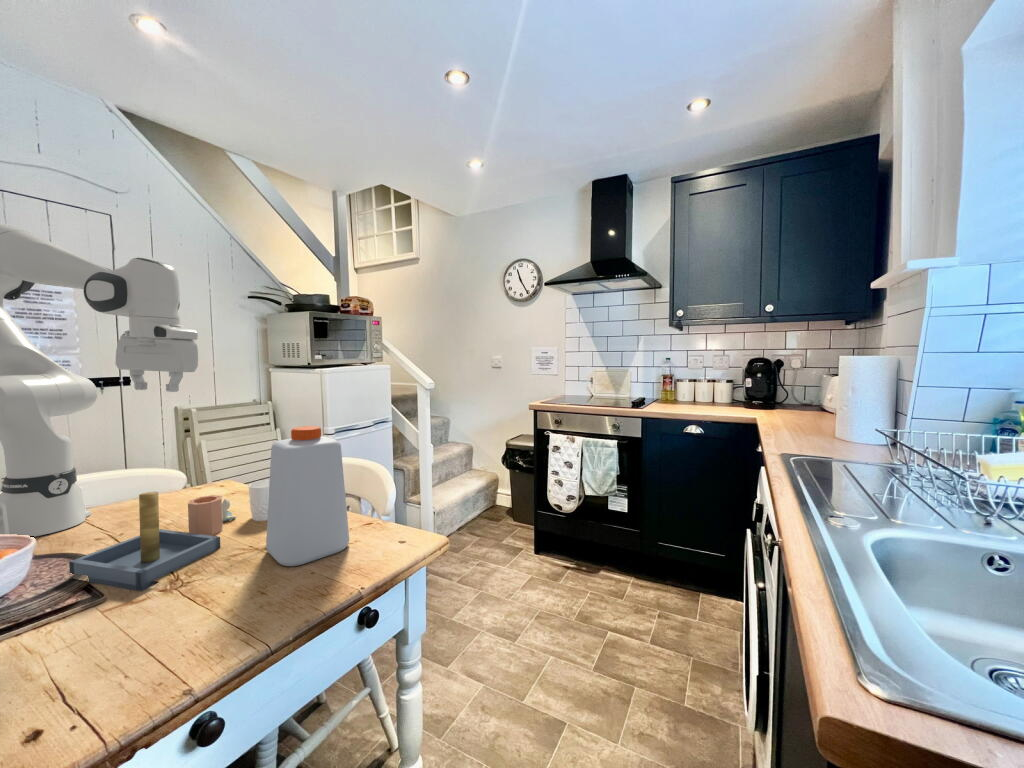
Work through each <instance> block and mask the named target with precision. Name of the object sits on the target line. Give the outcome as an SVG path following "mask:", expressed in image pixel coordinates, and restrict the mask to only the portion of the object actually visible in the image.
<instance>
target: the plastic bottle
mask: <svg viewBox="0 0 1024 768" xmlns="http://www.w3.org/2000/svg"><path fill="white" fill-rule="evenodd" d="M270 449H271V451H270V463H269V464H270V465H269V466H270V468H269V469H270V470H269V479H270V483H269V501H268V519H267V520H266V521H267V524H266V536H265V537H266V540H265V542H266V543H265V549H266V551H267V553H268V554H269V555H270V556H271V557H272V558H273V559H274V560H275V561H276V562H277V563H278V564H279V565H282V566H285V567H296V566H301V565H304V564H308V563H311V562H314V561H317V560H320V559H322V558H325V557H329V556H331V555H334V554H337V553H339V552H342V551H343V550H345V549H346V548H347V547H348V545H349V543H350V532H349V531H350V530H349V521H348V509H347V499H346V486H345V478H344V476H345V475H344V467H343V464H344V463H343V455H342V453H343V452H342V445H341V443H340V441H339V440H336V439H335V438H331V437H330V436H329V437H327V436H324V435H322V428H321V427H320V426H318V425H316V426H315V425H309V426H308V425H306V426H298V427H293V428H292V429H291V430H290V438H287V439H281V440H280V439H279V440H277V441H275V442H274V443H273V444H272V445H271V448H270Z"/></svg>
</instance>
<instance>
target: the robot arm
mask: <svg viewBox="0 0 1024 768" xmlns="http://www.w3.org/2000/svg"><path fill="white" fill-rule="evenodd" d="M178 276H179V275H178V273H177V271H176V269H175V268H174V267H173V266H172V265H169V263H164V262H161V261H160V262H159V261H157V260H153V259H148V258H144V257H133V258H131V259H130V260H129V261H128V262H127V264H125V265H123V266H121V267H118V268H114V269H109V268H107V267H105V266H102V265H99V264H97V263H95V262H93V261H91V260H89V259H87V258H85V257H83V256H81V255H78V254H76V253H74V252H72V251H70V250H68V249H66V248H63V247H62V246H60V245H57V244H56V243H54V242H52V241H50V240H48V239H45V238H43V237H41V236H39V235H36V234H34V233H31V232H29V231H26V230H24V229H20V228H17V227H15V226H10V225H6V224H2V223H0V443H1V446H2V449H3V455H4V464H5V465H4V466H5V473H6V474H5V475H6V476H4V477H3V478H1V480H3V481H0V483H1V488H0V489H1V490H0V491H1V493H0V534H17V535H29V536H34V537H39V536H44V535H47V534H52V533H56V532H61V531H64V530H68V529H69V528H73V527H74V526H77V525H80V524H83V522H85V520H86V518H87V517H89V516H91V515H92V511H91V509H87V508H86V502H85V497H84V491H83V487H82V486H80V485H78V484H76V483H77V480H78V479H77V478H78V477H77V476H78V473H77V469H76V467H74V454H73V453H74V452H73V442H72V440H71V438H70V437H69V436H67V435H65V434H63V433H60V432H58V431H57V430H56V429H55V428H54V426H53V425H52V422H51V419H50V418H51V417H59V416H65V415H66V416H68V415H72V414H76V413H78V412H81V411H84V410H87V409H88V408H89V409H90V407H92V406H93V405H94V404H95V402H96V401H97V398H98V389H97V386H96V385H95V383H93V381H92V380H90V379H89V378H87V377H85V376H82V375H79V374H76V373H75V372H73V371H70V370H68V369H67V368H65V367H64V366H63V365H60V364H59V363H58V362H56V361H55V360H53V359H52V358H50V357H49V356H47V355H46V354H45V353H44V352H43V351H41V349H39V348H38V347H37V346H36V345H35V344H34V343H33V342H32V340H31V339H30V337H28V336H27V334H26V333H25V332H24V330H23V329H22V328H21V327H20V325H18V323H17V322H16V321H15V320H14V319H13V317H12V316H11V315H10V314H9V312H7V310H6V308H5V307H4V300H8V301H16V300H19V299H20V297H21V295H22V294H25V293H27V292H29V291H30V290H31V289H32V288H33V286H34V285H35V284H39V285H45V286H51V287H52V286H53V287H61V288H72V289H79V290H83V296H84V299H85V302H86V303H87V304H88V305H89V307H91V309H93V310H94V311H96V312H98V313H102V314H104V315H105V314H106V315H112V316H118V317H119V316H120V317H126V318H127V317H128V326H129V327H128V330H126V331H124V332H123V333H122V334H121V335H120V338H119V339H118V341H117V344H116V350H115V366H116V368H117V369H118V370H126V371H129V377H130V378H131V379H132V381H133V387H134V390H135V391H136V390H137V391H146V390H147V389H148V381H146V380H145V379H144V375H145V371H147V372H149V371H150V372H167V373H168V377H169V381H168V383H166V384H165V392H167V393H175V392H176V393H177V392H179V390H180V386H179V385H180V383H181V381H182V380H183V377H184V373H195V372H196V371H197V368H198V367H199V349H198V345H197V342H196V341H197V340H198V337H199V335H198V334H199V333H198V332H197V331H196V330H195V329H192V328H189V327H187V326H186V325H183V324H181V317H180V313H179V309H180V306H181V300H180V299H181V295H180V282H179V277H178Z"/></svg>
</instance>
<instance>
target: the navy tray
mask: <svg viewBox="0 0 1024 768" xmlns="http://www.w3.org/2000/svg"><path fill="white" fill-rule="evenodd" d="M159 542H160V558H159V559H158V560H156V561H153V562H149V563H141V553H140V534H139V535H137V536H134V537H132V538H129V539H125V540H123V541H121V542H118V543H116V544H113V545H111V546H107V547H105V548H102V549H100V550H96V551H94V552H91V553H89V554H86V555H84V556H81V557H78V558H75V559H73V560H70V561H69V562H68V564H69V567H68V568H69V574H70V573H72V574H83V575H87V576H88V578H89V582H88V583H90V584H96V585H102V586H107V587H108V586H109V587H113V588H115V587H116V588H120V589H124V590H131V591H136V592H142V591H145V590H146V589H149V588H151V587H153V586H155V585H157V584H159V583H160V581H156V580H157V579H159V578H162V577H163V576H165V575H168V574H169V573H171V572H174V571H176V570H179V569H180V568H182V567H183V566H186V565H188V564H190V563H192V562H194V561H196V560H198V559H201V558H203V557H204V556H205V557H206V555H208V554H211V553H213V552H215V551H217V550H219V549H221V536H219V535H217V536H215V535H212V536H210V535H202V534H194V533H189V532H186V531H178V530H171V529H162V528H159Z"/></svg>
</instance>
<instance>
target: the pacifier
mask: <svg viewBox="0 0 1024 768" xmlns="http://www.w3.org/2000/svg"><path fill="white" fill-rule="evenodd" d="M230 502H231V501H230V500H229V499H227V498H225V499H224V500H222V516H223V523H224V522H228V521H231V520H235V519H236V518H237V517H236V516H233V513H232V512H231V511H229V508H230V506H231V503H230Z"/></svg>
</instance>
